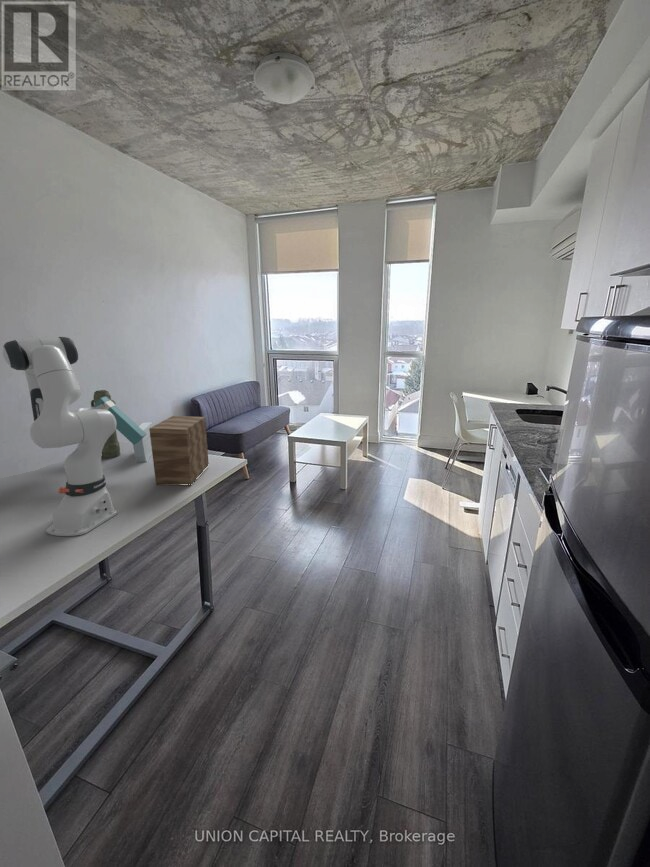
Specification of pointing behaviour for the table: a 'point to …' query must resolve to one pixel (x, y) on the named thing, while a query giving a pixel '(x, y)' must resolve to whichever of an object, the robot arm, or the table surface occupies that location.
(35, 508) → the table surface
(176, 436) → the brown wooden box
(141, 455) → the skincare box
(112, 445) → the thermos
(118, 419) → the teal rectangular bar
